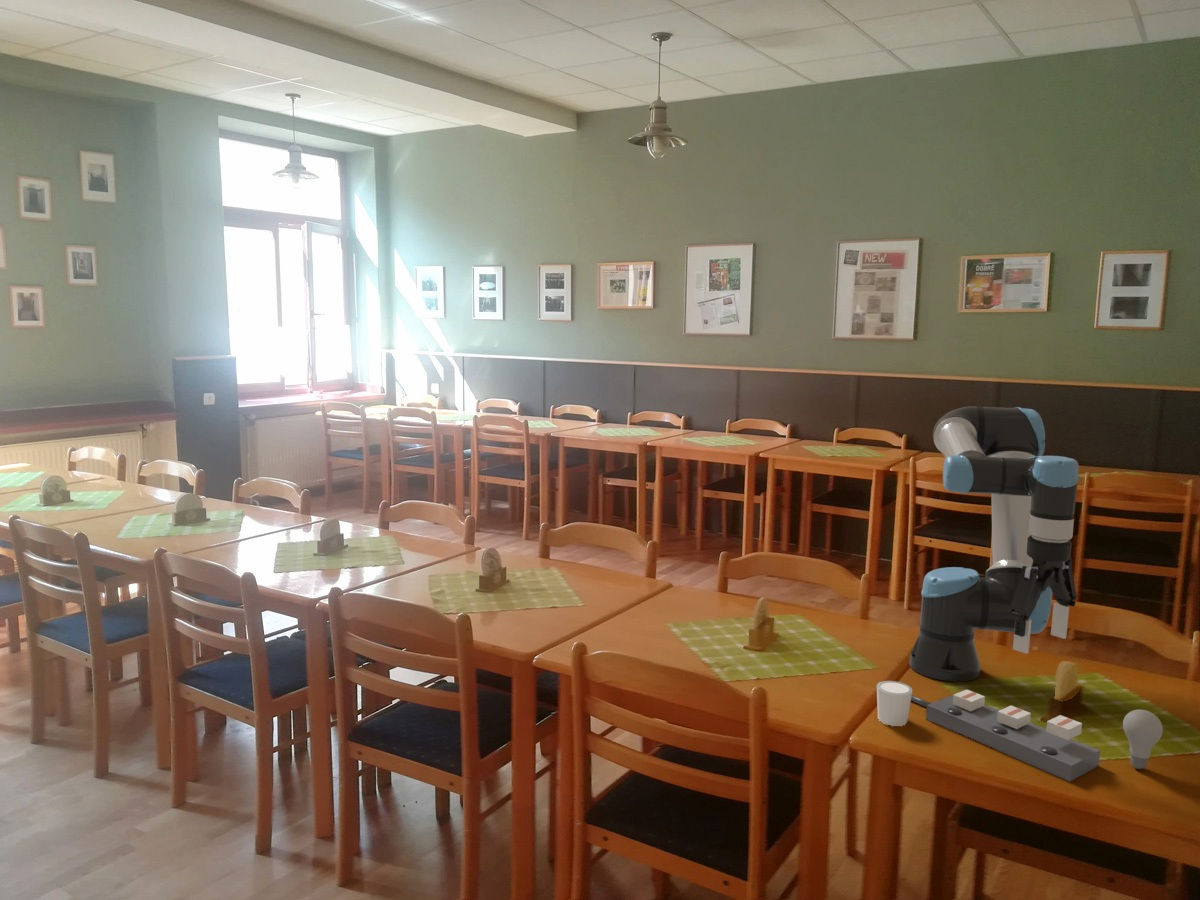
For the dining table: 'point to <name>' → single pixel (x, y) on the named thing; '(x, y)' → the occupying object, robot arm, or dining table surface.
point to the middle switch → (1013, 717)
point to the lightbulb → (1141, 735)
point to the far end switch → (1064, 727)
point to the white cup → (893, 702)
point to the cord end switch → (968, 700)
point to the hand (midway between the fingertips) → (1039, 643)
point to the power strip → (1015, 738)
